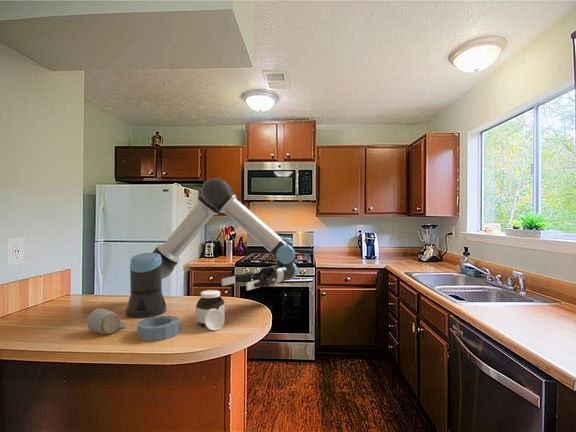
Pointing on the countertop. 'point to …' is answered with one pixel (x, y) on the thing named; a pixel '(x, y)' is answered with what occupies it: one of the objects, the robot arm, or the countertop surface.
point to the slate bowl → (158, 328)
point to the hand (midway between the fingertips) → (234, 284)
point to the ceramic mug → (104, 321)
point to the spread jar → (210, 310)
